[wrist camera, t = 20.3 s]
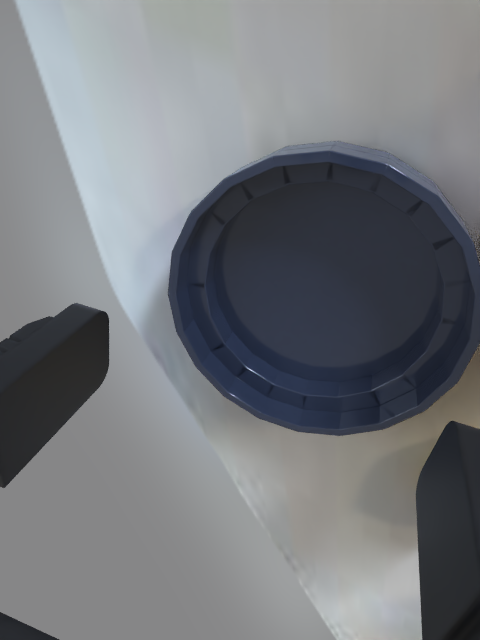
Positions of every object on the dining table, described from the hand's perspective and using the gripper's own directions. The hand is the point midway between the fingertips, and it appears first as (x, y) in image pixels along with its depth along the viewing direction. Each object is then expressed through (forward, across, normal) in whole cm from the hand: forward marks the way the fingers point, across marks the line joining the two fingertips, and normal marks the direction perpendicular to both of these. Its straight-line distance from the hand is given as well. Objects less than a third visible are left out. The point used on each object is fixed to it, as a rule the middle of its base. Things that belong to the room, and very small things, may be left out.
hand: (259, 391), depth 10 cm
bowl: (+21, 0, +7) cm, 22 cm away
